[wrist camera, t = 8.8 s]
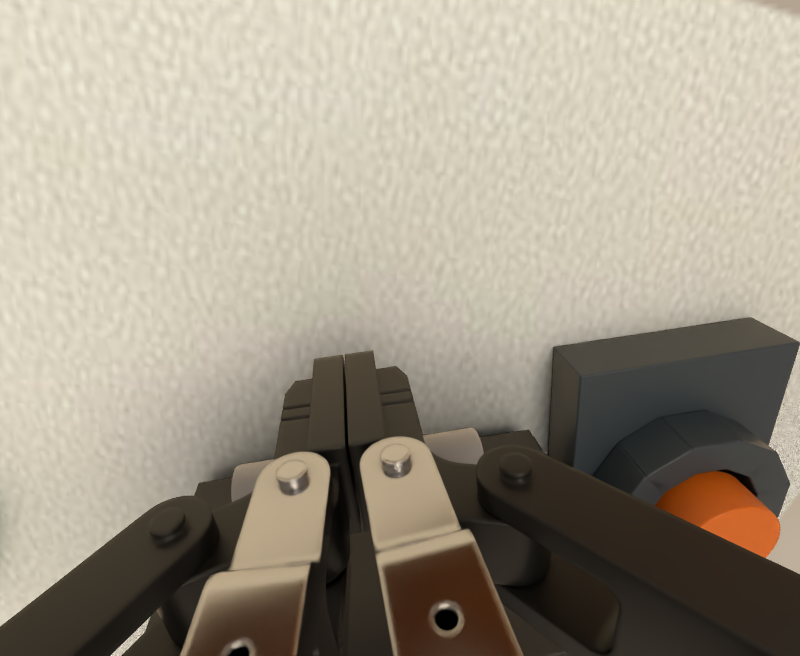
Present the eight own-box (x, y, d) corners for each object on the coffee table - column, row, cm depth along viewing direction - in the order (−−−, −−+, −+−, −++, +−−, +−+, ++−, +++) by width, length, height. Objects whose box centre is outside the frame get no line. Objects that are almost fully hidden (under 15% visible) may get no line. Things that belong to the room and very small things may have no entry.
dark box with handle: (160, 383, 15) (13, 619, 8) (531, 329, 16) (683, 500, 9) (276, 688, 23) (251, 944, 16) (523, 641, 24) (601, 863, 17)
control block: (553, 346, 18) (608, 407, 14) (751, 316, 18) (853, 367, 15) (543, 547, 23) (582, 630, 19) (700, 518, 23) (767, 594, 20)
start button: (653, 479, 16) (687, 518, 15) (750, 462, 17) (794, 499, 15) (640, 550, 18) (669, 593, 16) (729, 533, 18) (766, 574, 17)
